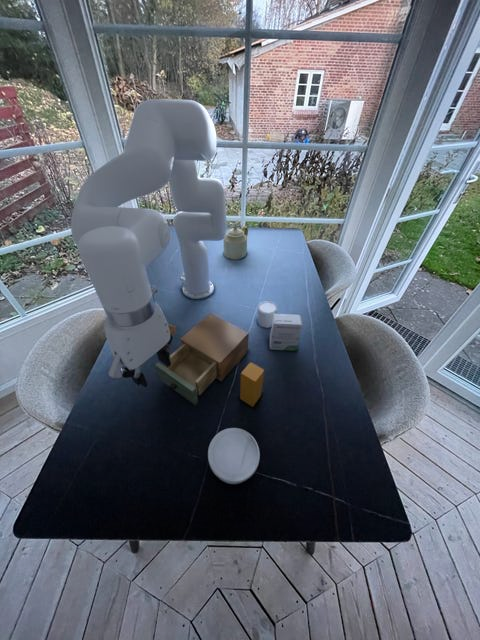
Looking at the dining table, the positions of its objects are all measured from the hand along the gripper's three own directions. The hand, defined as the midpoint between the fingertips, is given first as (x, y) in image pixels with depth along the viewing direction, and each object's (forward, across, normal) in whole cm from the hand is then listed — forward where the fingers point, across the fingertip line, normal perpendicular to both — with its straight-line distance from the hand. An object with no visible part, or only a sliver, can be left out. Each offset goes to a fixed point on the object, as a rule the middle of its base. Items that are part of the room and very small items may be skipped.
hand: (153, 371), depth 55 cm
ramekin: (+20, -1, +20) cm, 28 cm away
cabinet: (+20, -23, -3) cm, 30 cm away
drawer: (+19, -12, -3) cm, 22 cm away
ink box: (+20, -39, +12) cm, 45 cm away
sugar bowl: (+20, -79, -36) cm, 89 cm away
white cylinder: (+20, -45, +2) cm, 49 cm away
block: (+20, -17, +14) cm, 29 cm away
